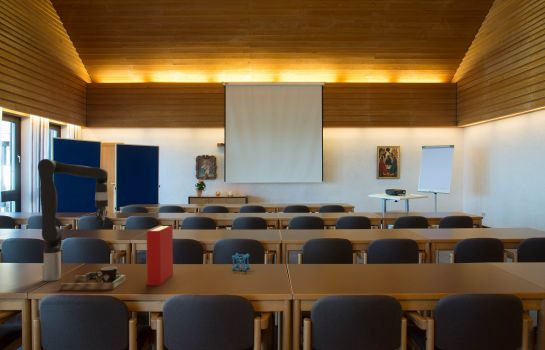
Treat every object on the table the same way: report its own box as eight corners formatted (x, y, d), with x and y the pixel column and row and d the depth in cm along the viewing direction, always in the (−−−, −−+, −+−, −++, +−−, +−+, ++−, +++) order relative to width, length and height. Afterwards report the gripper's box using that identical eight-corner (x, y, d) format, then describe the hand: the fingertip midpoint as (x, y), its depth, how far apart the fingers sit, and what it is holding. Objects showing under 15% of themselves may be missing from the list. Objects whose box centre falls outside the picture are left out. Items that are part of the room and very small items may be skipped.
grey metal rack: (60, 289, 233) (60, 283, 233) (82, 277, 260) (82, 272, 260) (113, 289, 233) (113, 283, 233) (129, 277, 260) (129, 271, 260)
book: (160, 273, 268) (160, 224, 268) (172, 273, 268) (172, 224, 267) (146, 285, 241) (145, 230, 240) (159, 285, 240) (159, 230, 240)
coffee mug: (120, 284, 243) (120, 267, 243) (108, 288, 236) (107, 270, 236) (107, 281, 249) (107, 265, 249) (94, 285, 241) (94, 268, 241)
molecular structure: (231, 270, 274) (231, 255, 274) (236, 267, 284) (236, 253, 284) (245, 271, 272) (245, 256, 272) (250, 268, 282) (249, 253, 282)
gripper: (100, 198, 270) (100, 225, 271) (91, 200, 257) (91, 227, 257) (111, 198, 270) (111, 224, 271) (103, 199, 257) (103, 227, 257)
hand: (101, 226), depth 264 cm, fingers closed
